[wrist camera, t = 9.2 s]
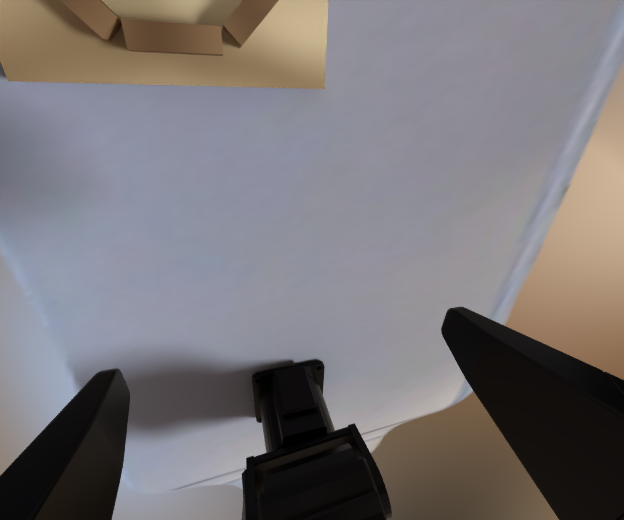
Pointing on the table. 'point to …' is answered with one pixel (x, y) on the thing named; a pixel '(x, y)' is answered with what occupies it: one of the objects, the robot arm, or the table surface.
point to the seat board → (166, 42)
